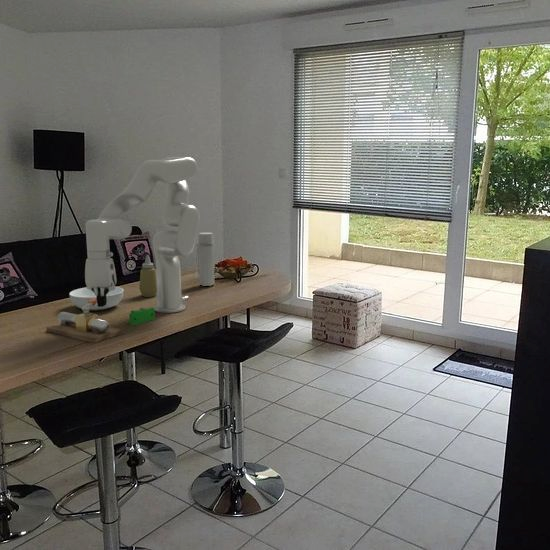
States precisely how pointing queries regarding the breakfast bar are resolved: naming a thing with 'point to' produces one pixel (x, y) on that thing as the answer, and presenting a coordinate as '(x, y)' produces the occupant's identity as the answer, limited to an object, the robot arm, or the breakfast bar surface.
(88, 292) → the serving bowl
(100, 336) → the valve stand
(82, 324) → the valve and pipe
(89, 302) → the valve lever
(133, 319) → the pipe clamp
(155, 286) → the squeeze bottle
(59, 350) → the breakfast bar surface
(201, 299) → the breakfast bar surface
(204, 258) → the water bottle
